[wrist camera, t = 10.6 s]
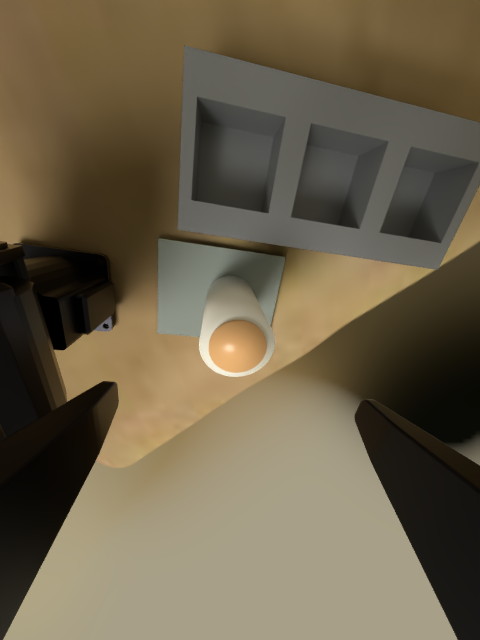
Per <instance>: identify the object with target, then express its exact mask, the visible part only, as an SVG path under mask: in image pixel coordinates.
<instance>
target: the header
mask: <svg viewBox="0 0 480 640" xmlns="http://www.w3.org/2000/svg"><path fill="white" fill-rule="evenodd" d="M479 185H480V122H476V121H472V120H469V119H465V118H461V117H457V116H453V115H449V114H446V113H442V112H438V111H434V110H430V109H426V108H423V107H419V106H415V105H411V104H407V103H404V102H400V101H396V100H392V99H388V98H384V97H381V96H377V95H373V94H369V93H365V92H361V91H358V90H354V89H350V88H346V87H342V86H338V85H335V84H331V83H327V82H323V81H319V80H315V79H312V78H308V77H304V76H300V75H296V74H292V73H289V72H285V71H281V70H277V69H273V68H270V67H266V66H262V65H258V64H254V63H250V62H247V61H243V60H239V59H235V58H231V57H227V56H224V55H220V54H216V53H212V52H208V51H204V50H201V49H197V48H193V47H189V46H185V45H184V69H183V97H182V124H181V151H180V178H179V205H178V230H183V231H189V232H196V233H202V234H209V235H215V236H222V237H228V238H235V239H241V240H248V241H254V242H261V243H267V244H274V245H280V246H287V247H293V248H299V249H306V250H312V251H319V252H325V253H332V254H338V255H345V256H351V257H358V258H364V259H371V260H377V261H384V262H390V263H397V264H403V265H410V266H416V267H423V268H429V269H436V270H438V268H439V266H440V264H441V262H442V260H443V258H444V256H445V254H446V252H447V250H448V248H449V246H450V244H451V242H452V240H453V238H454V236H455V234H456V232H457V230H458V228H459V226H460V224H461V222H462V220H463V217H464V215H465V213H466V211H467V209H468V207H469V205H470V203H471V201H472V199H473V197H474V195H475V193H476V191H477V189H478V187H479Z"/></svg>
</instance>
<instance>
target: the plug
mask: <svg viewBox="0 0 480 640" xmlns="http://www.w3.org/2000/svg"><path fill="white" fill-rule="evenodd" d="M274 347H275V337H274V333H273V330H272V328H271V326H270V324H269V322H268V320H267V318H266V316H265V314H264V312H263V310H262V308H261V307H260V305H259V303H258V301H257V299H256V297H255V295H254V293H253V291H252V289H251V287H250V285H249V284H248V283H247V282H246V281H245V280H243V279H242V278H240V277H237V276H231V275H229V276H223V277H220V278H218V279H217V280H215V281H214V282H213V283H212V284H211V286H210V287H209V289H208V292H207V297H206V303H205V309H204V315H203V322H202V328H201V334H200V340H199V350H200V354H201V357H202V359H203V360H204V362H205V363H206V364H207V366H208V367H210V368H211V369H212V370H214V371H215V372H217V373H219V374H222V375H225V376H231V377H240V376H246V375H249V374H252V373H254V372H256V371H258V370H259V369H261V368H262V367H263V366H264V365H265V364H266V363H267V362H268V361H269V359H270V358H271V356H272V354H273V351H274Z"/></svg>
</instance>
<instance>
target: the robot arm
mask: <svg viewBox="0 0 480 640" xmlns="http://www.w3.org/2000/svg"><path fill="white" fill-rule="evenodd" d="M99 258H101V259H102V260H103V264H102V263H100V262H99ZM115 311H116V310H115V296H114V284H113V283H112V281H111V279H110V266H109V259H108V257H107V256H106V255H104V254H100V253H92V252H85V251H77V250H70V249H63V248H55V247H48V246H40V245H33V244H25V243H16V244H13V245H11V244H7V242H2V241H0V640H3V639H4V637H5V635H6V633H7V631H8V629H9V627H10V625H11V623H12V621H13V619H14V617H15V615H16V613H17V612H18V609H19V608H20V606H21V604H22V602H23V600H24V598H25V596H26V594H27V592H28V590H29V588H30V586H31V584H32V582H33V581H34V579H35V577H36V575H37V573H38V571H39V569H40V567H41V565H42V563H43V561H44V559H45V557H46V556H47V554H48V552H49V550H50V548H51V546H52V544H53V542H54V540H55V538H56V536H57V534H58V532H59V530H60V529H61V527H62V525H63V523H64V521H65V519H66V517H67V515H68V513H69V511H70V509H71V507H72V505H73V503H74V502H75V499H76V498H77V496H78V494H79V492H80V490H81V488H82V486H83V484H84V482H85V480H86V478H87V476H88V474H89V472H90V471H91V469H92V467H93V465H94V463H95V461H96V459H97V457H98V455H99V453H100V450H101V448H102V445H103V443H104V440H105V438H106V435H107V433H108V430H109V428H110V425H111V423H112V420H113V418H114V415H115V413H116V410H117V407H118V402H119V399H118V387H117V383H116V382H109V381H103V382H101V383H99V384H97V385H95V386H94V387H92V388H90V389H89V390H87V391H85V392H83V393H82V394H80V395H78V396H77V397H75V398H73V399H71V400H70V401H68V402H67V397H66V389H65V386H64V382H63V379H62V376H61V372H60V369H59V366H58V362H57V359H56V356H55V352H54V350H65V349H66V348H67V347H69V346H70V345H71V344H72V343H74V342H75V341H76V340H77V339H78V338H80V337H81V336H82V335H83V334H87V335H88V334H90V333H91V332H92V331H93V330H95V331H110V330H111V329H112V328H113V327H114V317H113V313H115ZM105 324H108V325H109V327H107V326H105ZM355 422H356V424H357V427H358V430H359V432H360V435H361V437H362V440H363V442H364V445H365V448H366V450H367V453H368V456H369V458H370V460H371V463H372V465H373V467H374V469H375V471H376V473H377V475H378V477H379V479H380V481H381V484H382V486H383V488H384V490H385V492H386V494H387V496H388V498H389V500H390V502H391V504H392V506H393V508H394V510H395V512H396V514H397V516H398V518H399V520H400V522H401V524H402V526H403V529H404V531H405V532H406V535H407V537H408V539H409V541H410V543H411V545H412V547H413V549H414V551H415V553H416V555H417V557H418V559H419V561H420V563H421V565H422V567H423V569H424V572H425V573H426V576H427V578H428V580H429V582H430V583H431V586H432V588H433V590H434V592H435V594H436V596H437V598H438V600H439V602H440V604H441V606H442V608H443V610H444V612H445V614H446V617H447V618H448V621H449V622H450V625H451V626H452V629H453V631H454V633H455V635H456V637H457V639H458V640H480V466H479V465H478V464H476V463H475V462H473V461H471V460H470V459H468V458H467V457H465V456H463V455H462V454H460V453H458V452H457V451H455V450H454V449H452V448H451V447H449V446H447V445H445V444H444V443H443V442H441V441H439V440H438V439H436V438H435V437H433V436H431V435H430V434H428V433H426V432H425V431H423V430H422V429H420V428H419V427H417V426H415V425H414V424H412V423H410V422H408V421H407V420H406V419H404V418H403V417H401V416H399V415H398V414H396V413H395V412H393V411H391V410H390V409H388V408H386V407H385V406H383V405H382V404H380V403H378V402H377V401H375V400H372V399H363V400H362V401H361V402H360V405H359V407H358V409H357V411H356V413H355Z"/></svg>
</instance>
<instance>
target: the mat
mask: <svg viewBox="0 0 480 640" xmlns="http://www.w3.org/2000/svg"><path fill="white" fill-rule="evenodd" d="M285 259H286V257H284V256H278V255H271V254H265V253H258V252H251V251H244V250H237V249H231V248H224V247H217V246H210V245H204V244H197V243H190V242H183V241H176V240H170V239H163V238H158V333H161V334H172V335H183V336H194V337H200V334H201V328H202V322H203V315H204V309H205V303H206V297H207V292H208V289H209V287H210V286H211V284H212V283H213V282H214V281H215V280H217V279H218V278H220V277H223V276H229V275H231V276H237V277H240V278H242V279H243V280H245V281H246V282H247V283H248V284H249V285H250V287H251V289H252V291H253V293H254V295H255V297H256V299H257V301H258V303H259V305H260V307H261V308H262V310H263V312H264V314H265V316H266V318H267V320H268V322H269V324H270V326H271V322H272V317H273V313H274V308H275V304H276V299H277V295H278V290H279V286H280V281H281V277H282V272H283V268H284V263H285Z"/></svg>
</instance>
